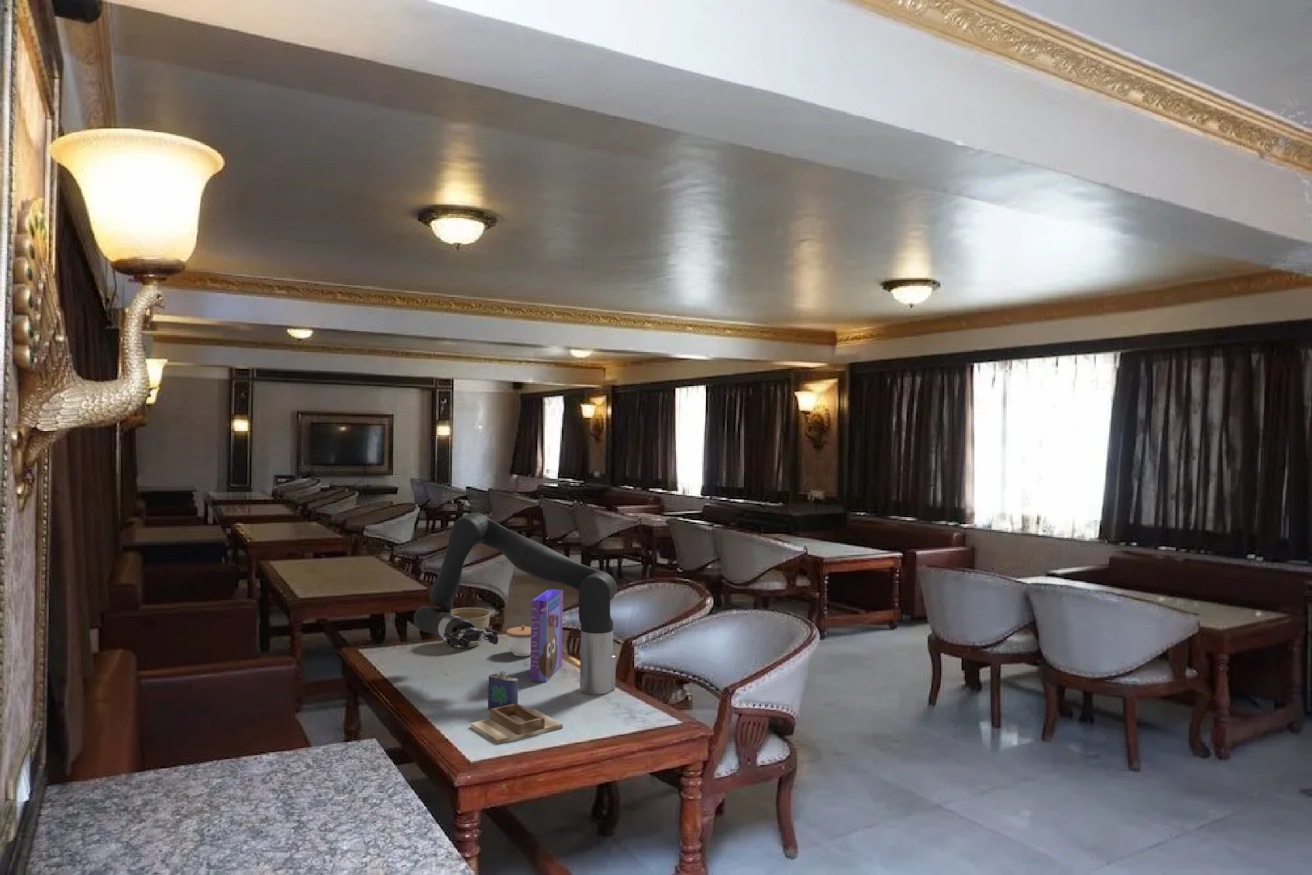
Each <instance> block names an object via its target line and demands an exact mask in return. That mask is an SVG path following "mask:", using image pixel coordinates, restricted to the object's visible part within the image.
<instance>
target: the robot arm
mask: <svg viewBox="0 0 1312 875" xmlns="http://www.w3.org/2000/svg"><path fill="white" fill-rule="evenodd" d="M448 538H449V539H448V543H447V548H446V550H445V554H444V558H443V562H442V564H441V567H440V570H439V572H438V575H437V577H436V580H435V582H434V584H433V587H432V589H431V591H430V594H429V600H430V601H431V603H432V604H434V605H436V607H435V606H425V605H424V606H421V607H419V608H418V609H416V611H415V612H414V615H413V623H414V626H416V629H418V630H419V631H422V632H425V633H429V634H435V635H437V636H438V637H440V638H442V640H443V641H442V642H443V643H444V644H445V645H446V646H448V647H449V648H455V647H454V645H456V646H458V647H463V648H462V649H465V650H467V649H470V647H469V643H474V642H479V643H480V644H483V643H485V642H489V643H490V644H493V645H498V643H499V636H498V630H496V629H495V630H494V629H492V628H490V627H488V628H487V627H486V628H484V630H481V629H476V628H475V627H474V626H473V624H472V623H471V622H470V621H467V620H465V619H463V618H461V617H458V616H454V615H452V614H451V610H452V609H453V608H452V606H453V602H454V599H455V597H456V594H457V592H458V589H459V587H460V585H461V581H462V575H463V567H464V564H465V561H466V558H467V556H469V554H470V552H471V550H472V549H473V548H474V547H475V546H477V545H479V544H482V545H485V546H487V547H490V548H492V549H495V550H497V551H498V552H500V553H501V554H502V555H504V556H505V557H506V558H507V560H508V561H509V562H510V563H511V564H512V565H513V566H514V567H516V568H517V569H518V570H520V571H522V572H524V573H526V574H528V575H531V576H533V577H536V578H538V579H540V580H545V581H548V582H553V583H558V584H563V585H566V586H568V587H571V588H573V589H575V590H577V591H578V620H579V624H580V652H579V653H580V654H579V655H580V656H579V657H580V658H579V659H580V662H579V663H580V664H579V666H580V667H579V668H580V669H579V675H580V676H579V690H580V692H581V693H584V694H587V695H605V694H608V693H610V692H612V691H614V690H616V663H617V662H616V656H615V655H613V654H614V620H613V619H612V617H611V601H612V600H613V599H614V597H615V596H616V595H617V591H618V587H617V582H616V580H615V579H614V577H612V575H610V574H609V573H608V572H605V571H603V570H599V569H596V568H593V567H590V566H588V565H585V564H582V563H580V562H577V561H575V560H573V559H571V558H570V557H568V556H566V555H564V554H563V553H559V552H558V551H556V550H555V549H552V548H551V547H548V546H546V545H543V544H542V543H539V542H537V541H536V540H533V539H530V538H528V537H526V536H524V535H523V534H519V533H517V532H515V531H513V530H510V528H509V529H508V528H507V527H505V526H503V525H501V524H500V523H498V522H496V521H495V520H493V519H491V518H490V517H488V516H487V515H485V514H482V513H481V512H471V513H468V514H465V515H464V516H461V517H459V518H458V519H457V520H455V521H454V523H453V525H452V528H451V529H450V534H449V537H448ZM437 606H438V607H437ZM480 636H481V640H479V638H480ZM458 647H457V648H458Z"/></svg>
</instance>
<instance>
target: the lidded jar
mask: <svg viewBox="0 0 1312 875" xmlns="http://www.w3.org/2000/svg"><path fill="white" fill-rule="evenodd" d="M506 644H507V647H508V649H509V651H510V652H511V653H513V655H514V656H515V657H530V656H531V626H525V624H522V625H521V626H515V627H511V628H508V629H507V630H506Z"/></svg>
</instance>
